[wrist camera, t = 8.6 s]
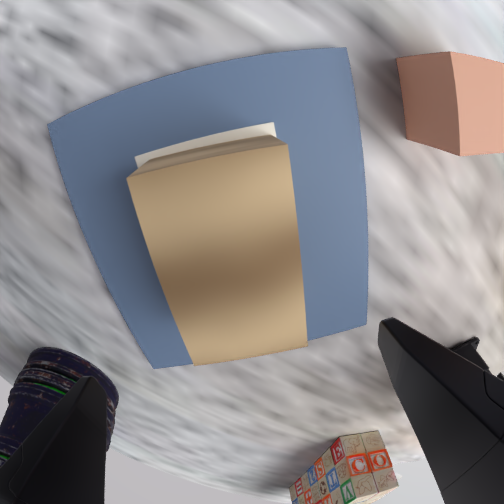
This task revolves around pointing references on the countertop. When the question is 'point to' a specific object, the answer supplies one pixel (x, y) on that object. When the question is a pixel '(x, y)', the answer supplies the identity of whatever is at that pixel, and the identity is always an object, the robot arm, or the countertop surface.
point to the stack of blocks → (348, 473)
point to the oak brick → (226, 246)
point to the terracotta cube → (453, 102)
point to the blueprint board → (213, 132)
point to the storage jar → (47, 394)
